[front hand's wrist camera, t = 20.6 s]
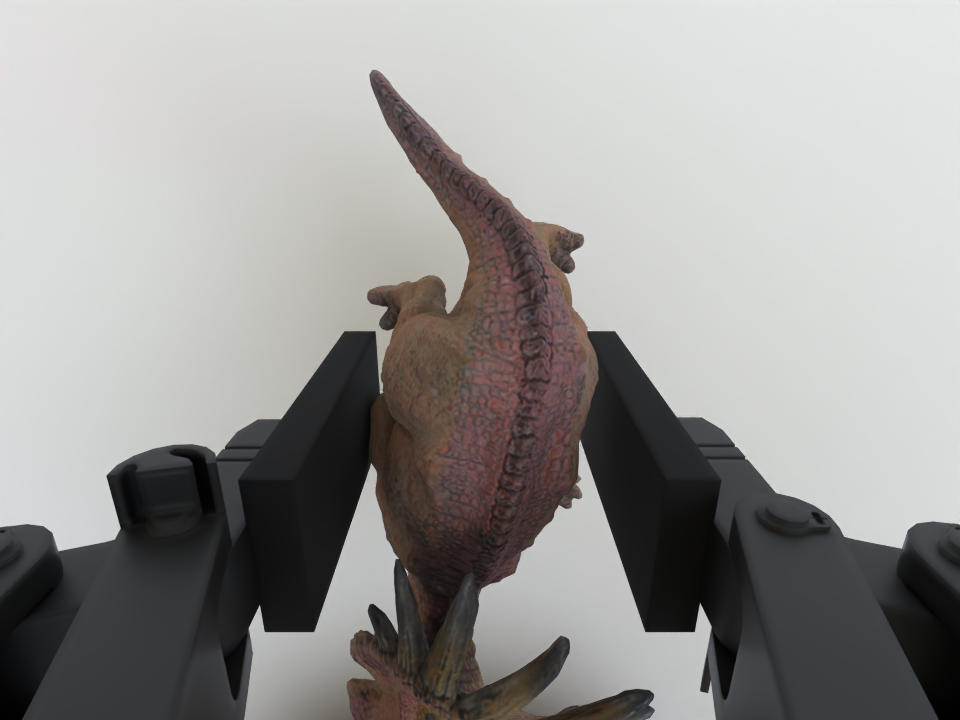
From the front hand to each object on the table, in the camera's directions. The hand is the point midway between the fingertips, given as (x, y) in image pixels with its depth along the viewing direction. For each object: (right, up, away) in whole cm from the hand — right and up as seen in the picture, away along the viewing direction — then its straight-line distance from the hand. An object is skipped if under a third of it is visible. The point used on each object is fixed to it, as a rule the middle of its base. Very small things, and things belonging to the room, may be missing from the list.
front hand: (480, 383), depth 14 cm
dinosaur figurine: (0, 0, +1) cm, 1 cm away
